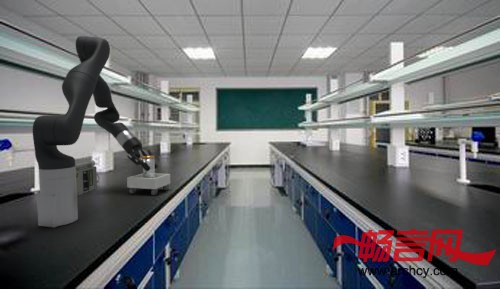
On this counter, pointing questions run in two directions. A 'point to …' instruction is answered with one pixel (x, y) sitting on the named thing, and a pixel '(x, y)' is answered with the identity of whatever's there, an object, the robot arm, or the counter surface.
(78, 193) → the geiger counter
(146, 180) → the parts cart
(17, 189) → the counter surface
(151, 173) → the canister
